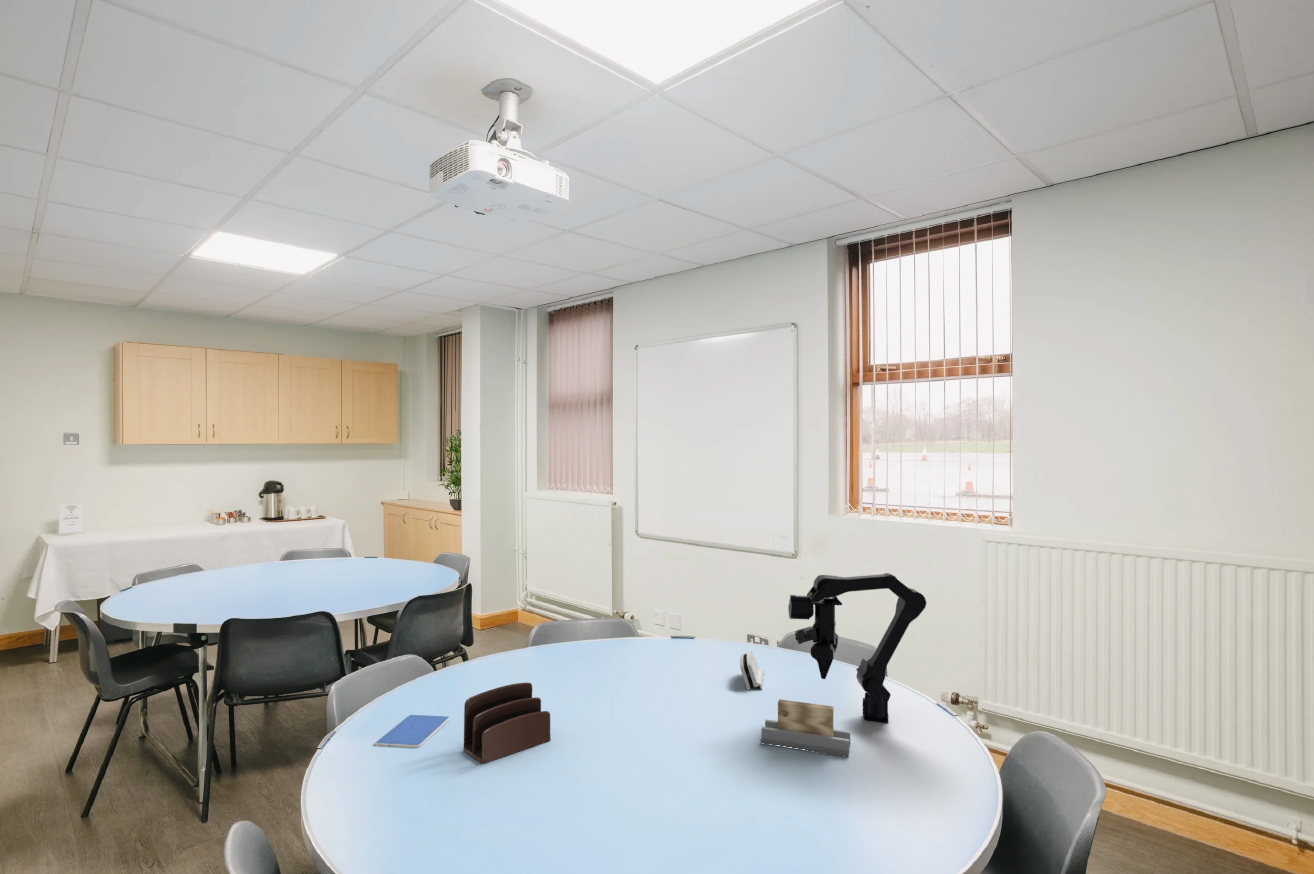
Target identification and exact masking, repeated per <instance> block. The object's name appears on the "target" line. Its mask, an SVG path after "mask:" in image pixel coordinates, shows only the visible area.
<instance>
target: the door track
mask: <svg viewBox="0 0 1314 874" xmlns="http://www.w3.org/2000/svg"><path fill="white" fill-rule="evenodd" d="M760 736H761V738H760V744H761V743H764V744H772V745H780V746H786V747H792V748H798V749H805V750H808V751H807V752H809V751H814V752H813V753H816V752H819V753H818V754H822V753H826V754H825V755H829V754H833V755H832V756H835V755H839V756H838V757H842V756H845V757H844V758H849V755H850V750H849V749H851V741H852V740H851V731H850V730H842V729H838V728H837V729H836V728H833V737H830V736H823V735H816V734H809V733H803V732H796V731H789V730H782V729H778V720H773V719H765V721H764V726H761V735H760ZM764 744H763V745H764Z"/></svg>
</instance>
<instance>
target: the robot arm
mask: <svg viewBox="0 0 1314 874" xmlns="http://www.w3.org/2000/svg"><path fill="white" fill-rule="evenodd" d="M885 589H889V590H890V591H891V592H892V593H893V594H894V595H896V597H897V600H896V604H895V605H896V606H895V611H894V613H895V614H894V616H893V618H892V620H891V622H890V624H889V625H888V627H887V629H886V630H885V633H884V634H883V636H882V638H881V640H880V642H879V643H878V645H877V647H876V649H875V651H874V653H873V655H872V656H871V657H870V658H868V659H867V660H866V659H865V658H861V659H862V660H861V661H860V665H859V666H858V667H857V668H856V669H855V670H856V680H857V682H858V684H859V685H860V686H861V688H862V689H863V691H864V697H863V698H862V715H863V716H864V717H863V719H864V720H866V721H872V722H881V723H889V700H890V698H891V693H890V691H889V690H888V689H887V688H886V687H885V685H884V683H885V679H886V673H887V672H886V671H887V666H888V664H889V663H890V660H891V659H892V657H893V655H894V653H895V651H896V649H897V648H898V646H899V644H900V642H901V640H902V638H903V637H904V635H905V634H906V631H907V629H908V627H909V625H910V624H911V623H912V622H913V621H915V620H916V619H917V618H918V617H919V616H920V615H921V613H922V612H923V611H924V610H925V609H926V606H927V600H926V597H925V595H923V594H922V593H921V592H919V591H917V590H916V589H914V588H909V587H908V586H907V585H905V584H904V583H903V582H902V581H900V580H899V579H898V578H897V577H896V575H893V574H892V573H889V572H886V573H881V574H880V573H879V574H869V575H857V576H847V577H843V576H839V575H838V576H837V575H831V574H820V575H818V576H816V577H815V579H814V580H813V586H812V587H811V588H810V589H809V591H808V592H807V594H806V595H795V594H790V595H789V601H788V609H787V610H788V618H789V619H790V620H810V619H811V618H813V616H814V623H813V625H812V626H807V627H804V628H799V629H797V630H795V632H794V636H795V640H796V642H797V645H802V644H804V643H807V642H811V641H812V643H814V644H812V645H811V647H810V656H811V657H812V658H813V659H814V660H815V661H816V662H817V665H818V670H819V674H820V678H821V679H822V680H826V679H827V676H828V673H829V670H830V669H831V666H832V663H833V660H834V657H835V653H836V651H837V648H838V644H839V635H838V634H837V633H836V626H837V624H836V623H837V622H836V606H842V605H843V603H842V601H841V600H839V598H838V596H840V595H843V594H845V593H848V592H860V591H871V590H873V591H874V590H875V591H876V590H885Z"/></svg>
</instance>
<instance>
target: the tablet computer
mask: <svg viewBox="0 0 1314 874" xmlns="http://www.w3.org/2000/svg"><path fill="white" fill-rule="evenodd" d="M450 720H451V717H450V716H444V715H443V716H442V715H423V714H421V715H420V714H409V715H407V716H406V717H405V718H404V719H403V720H401V721H400V722H398V724H396V725H395V726H394V727H393V728H391V729H390V730H388V731H387V733H385V734H384V735H383V736H382V737H380V738H379V739H378V740H376V741H375V742H374V746H375V747H377V746H378V747H389V748H405V749H407V748H408V749H419V748H421V747H423V746H424V745H425V744H426V743H427V742H428V741H429V740H430V739H431V738H432V737H433V736H434V735H435V734H436V733H437V732H438V731H439V730H440V729H442V728H443V726H445V725H446V724H447V723H448V722H450Z"/></svg>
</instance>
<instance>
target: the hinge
mask: <svg viewBox="0 0 1314 874" xmlns="http://www.w3.org/2000/svg"><path fill="white" fill-rule="evenodd" d="M739 667H740V671H741V674H742V677H743V681H744V683H745V687H746V689H747V688H749V689H748V690H751V688H752V687H753V688H756V687H759V688H760V690H761V689H762V686H763V687H764V681H763V676H764V677H765V673H764V670H763V668H761V667H759V665H758V662H757V660H756V657H755V655H754V652H753V651H752V652H751V651H748V652H747V653H743V654H741V655H740V657H739Z"/></svg>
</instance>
